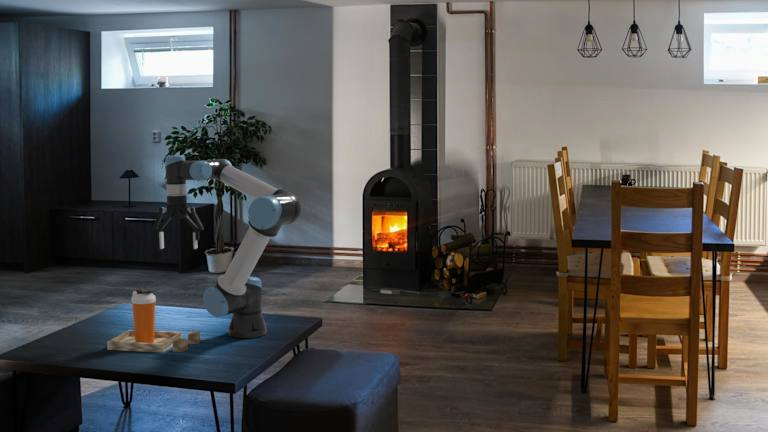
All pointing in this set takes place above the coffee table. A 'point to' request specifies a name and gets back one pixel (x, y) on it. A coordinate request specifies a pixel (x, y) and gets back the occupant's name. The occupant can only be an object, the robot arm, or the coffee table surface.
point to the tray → (128, 343)
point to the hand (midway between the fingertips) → (178, 248)
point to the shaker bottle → (144, 315)
